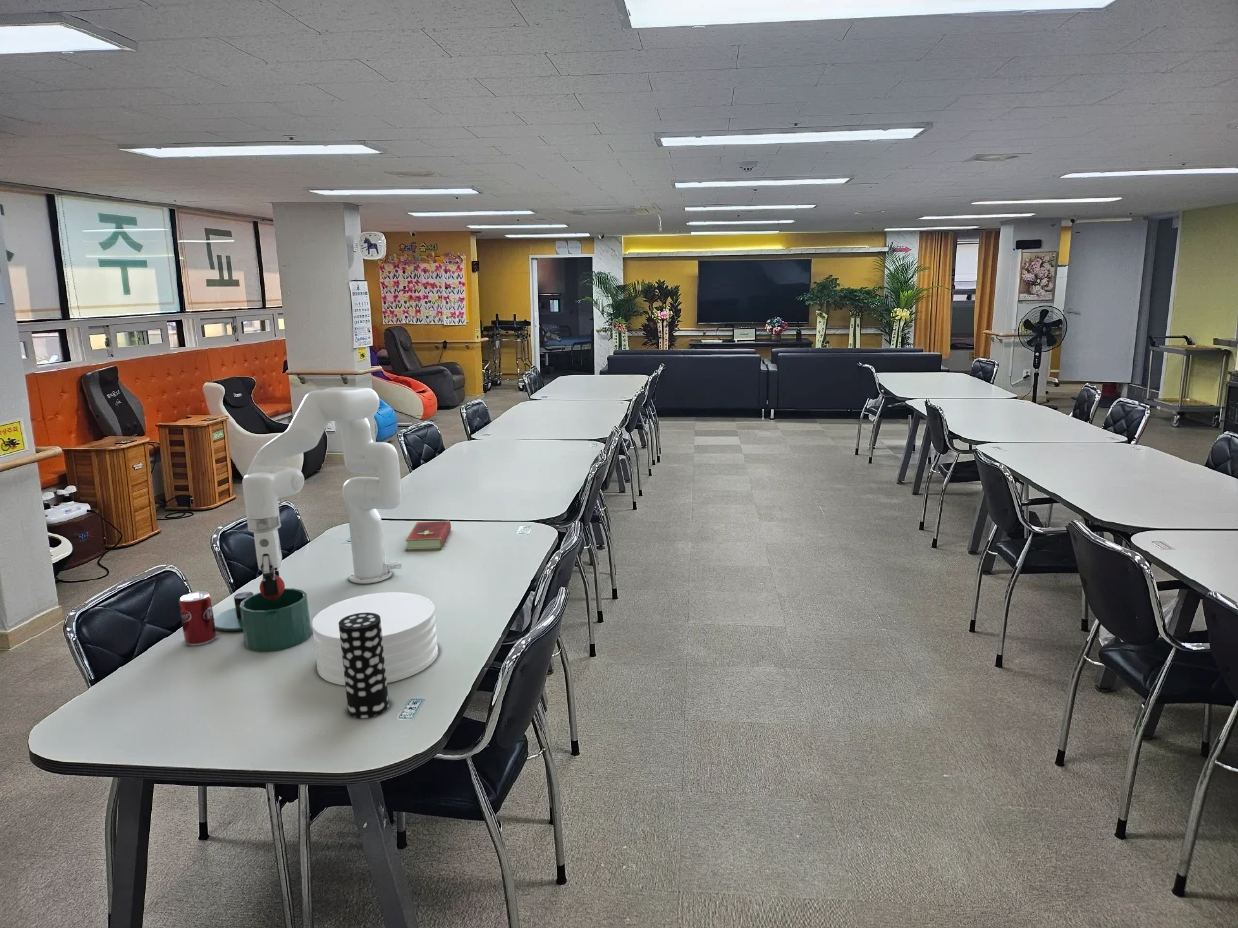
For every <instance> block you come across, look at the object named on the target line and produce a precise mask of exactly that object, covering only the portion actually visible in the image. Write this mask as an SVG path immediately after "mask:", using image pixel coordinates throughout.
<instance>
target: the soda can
mask: <svg viewBox="0 0 1238 928" xmlns="http://www.w3.org/2000/svg"><path fill="white" fill-rule="evenodd" d="M178 607H179V612H180V613H179V614H180V620H181V626H182V632H183V640H184V643H186V644H187V645H188V646H201V645H205V644H208V643H211V642H212V641H214V640H215V639H216V637H217V631H216V630H217V629H216V628H215V623H214V618H215V616H214V610H213V602H212V596H211V594H210V593H209V592H207V591H195V592H189V593H186V594H183V595H182V596H181V597H180V598H179V599H178Z"/></svg>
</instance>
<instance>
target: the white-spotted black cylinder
mask: <svg viewBox="0 0 1238 928" xmlns="http://www.w3.org/2000/svg"><path fill="white" fill-rule="evenodd" d="M339 632H340V641H341V650H342V659H343V668H344V677H345V685H344V686H345V695H346V703H347V713H348V715H349V716H351V717H353V718H356V719H369V718H373V717H377V716H379V715H382V714H383V713H384V712H386V711H387V710H388V709H389V706H390V703H389V702H390V701H389V692H388V691H389V690H388V683H387V680H386V670H385V660H384V649H383V639H382V629H381V619H380V616H379V615H378V614H375V613H357V614H352V615H349V616H347V617H344V618H343V619H341V620H340V621H339Z"/></svg>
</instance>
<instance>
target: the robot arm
mask: <svg viewBox="0 0 1238 928" xmlns="http://www.w3.org/2000/svg"><path fill="white" fill-rule="evenodd" d="M379 409H380V397H379V395H378V393H377V392H376V391H375V390H374V389H373V388H370V387H346V386H345V387H344V386H342V387H341V386H339V387H338V386H336V387H327V388H324V389H317V390H312V391H309V392H308V393H307V394H305V396H304V398H303V400H302V401H301V403H300V405H299V407H298V409H297V410H296V412H295V414H294V416H293V418H292V420H291V422H290V423H289V425H288V427H287V429H286V430H285V431H284V432H282V433H280V434H278V435H277V436H275V437H274V438H272V439H271V440H270V441H269V442H267V443H266V444H264V445H263V446H262V447H261V448H260V449H259V450H258V451H257V453H256V454H255V456H254V457H253V459H252V460H251V463H250V464H249V467H248V469H247V472H246V475H244V477H243V478H242V481H241V484H242V492H243V500H244V507H245V514H246V522H247V530H248V532H250V533H253V538H254V547H255V556H256V562H257V567H258V570H260V571H261V572H262V574H261V575H262V580H263V588H264V595H265V596H273V595H278V586H277V579H275V575H277V576H279V577H280V570H279V569H280V567H281V565H282V561H283V555H282V547H281V541H280V535H279V530H278V529H280V528H281V527H282V523H281V514H280V507H279V506H280V505H279V499H281V498H286V497H292V496H295V495H296V494H298V493H300V492H301V490H302V489H303V488H304V485H305V477H304V474H303V472H302V471H301V470H300V469H298V468H297V467H293V466H281V465H280V464H281V463H283V462H284V461H285V460H287V459H289V458H292V457H295V456H298V455H301V454H303V453H306V452H308V451H311V450H313V449H315V447H317V446H318V445H319V443H320V441H321V439H322V436H323V434H324V432H325V430H326V429H327V427H328V425H329V423H330V422H335V423H336V424H337V425H338V428H339V431H340V437H341V445H342V454H343V455H342V456H343V461H344V465H345V468H346V470H347V471H348V472H350V473H352V474H353V473H354V474H364V475H377V477H375V476H354V477H351V478H349V479H348V480H346V481H345V482H344V484H343V486H342V490H341V491H342V492H341V493H342V499H343V503H344V505H345V509H346V513H347V518H348V525H349V536H350V545H351V546H350V547H351V555H352V564H353V566H352V567H353V571H352V572H351V573H349V576H348V577H349V581H350V582H352V583H355V584H375V583H378V582H379V583H380V582H382V581H385V580H388V579H389V578H390V577H392V575H393V572H392V571H393V570H401V569H402V562H397V560H395V561H390V562H389V561H388V560H387V557H386V552H385V542H384V539H385V538H384V529H383V520H382V517H381V515H380V513H379V512H378V510H394V509H396V508H398V507H399V506H400V504H401V501H402V498H403V497H402V493H403V492H402V490H403V489H402V479H401V478H402V477H401V468H400V467H401V466H400V460H399V458H400V457H399V454H398V451H397V449H396V448H395V446H394V445H393V444H391V443H389V442H385V441H374V440H373V436H372V430H371V424H370V422H369V418H372V417H373V416H375V415H376V414H377V412H378V411H379ZM270 571H272V573H271V572H270Z"/></svg>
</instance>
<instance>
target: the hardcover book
mask: <svg viewBox="0 0 1238 928" xmlns="http://www.w3.org/2000/svg"><path fill="white" fill-rule="evenodd" d="M451 531H452V523H451V521H450V520H435V521H434V520H433V521H416V523H415V525H414V526H413V527H412V529H411V531H410V532H409V534H408V535H407V537H406V539H405V542H406V544H407V545H406V546H407V548H406V550H405V551H406V552H418V551H438V550H439V551H440V550H442V549H443V547H444V545H445V543H446V541H447V539H448V537H449V535H450V532H451Z"/></svg>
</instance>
